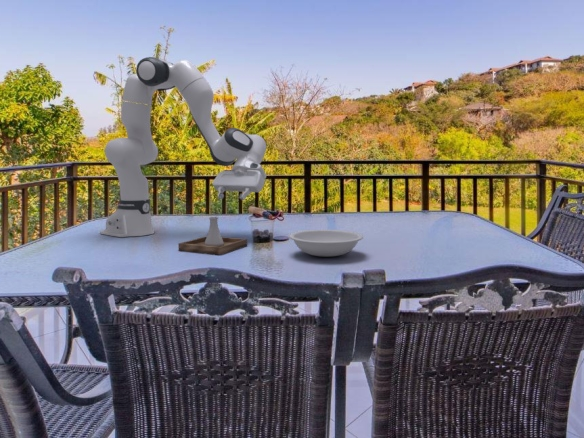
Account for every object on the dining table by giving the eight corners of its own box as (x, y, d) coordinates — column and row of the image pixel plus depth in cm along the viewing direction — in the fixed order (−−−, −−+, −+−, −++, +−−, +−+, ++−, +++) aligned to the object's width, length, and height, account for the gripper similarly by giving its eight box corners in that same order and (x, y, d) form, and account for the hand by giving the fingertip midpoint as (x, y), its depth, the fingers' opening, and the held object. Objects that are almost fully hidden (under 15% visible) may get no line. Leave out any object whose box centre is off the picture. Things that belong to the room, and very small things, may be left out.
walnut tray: (178, 250, 165) (178, 243, 165) (208, 242, 180) (207, 235, 180) (220, 255, 158) (220, 247, 158) (247, 246, 173) (247, 239, 173)
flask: (221, 247, 165) (220, 218, 164) (200, 247, 166) (200, 218, 165) (227, 243, 172) (226, 215, 171) (207, 243, 173) (206, 215, 172)
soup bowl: (342, 267, 141) (343, 245, 141) (274, 258, 154) (274, 237, 153) (374, 252, 162) (374, 233, 161) (311, 245, 174) (311, 227, 173)
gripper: (218, 164, 187) (203, 191, 179) (264, 165, 178) (251, 193, 170) (224, 175, 191) (210, 202, 184) (270, 176, 182) (257, 205, 175)
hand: (230, 198), depth 177 cm, fingers open, 8 cm apart
